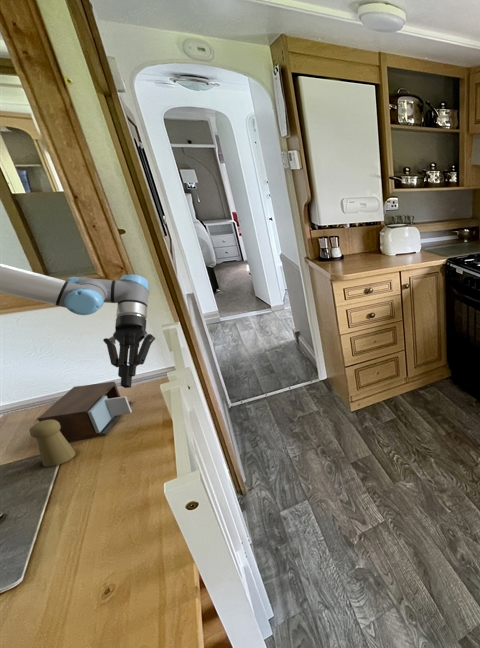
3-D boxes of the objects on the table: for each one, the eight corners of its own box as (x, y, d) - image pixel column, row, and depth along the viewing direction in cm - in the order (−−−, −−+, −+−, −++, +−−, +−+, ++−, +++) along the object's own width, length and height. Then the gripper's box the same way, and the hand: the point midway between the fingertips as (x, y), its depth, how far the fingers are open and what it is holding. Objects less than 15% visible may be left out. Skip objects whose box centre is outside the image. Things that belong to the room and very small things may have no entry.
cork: (36, 464, 95) (17, 428, 91) (64, 449, 101) (48, 414, 97) (53, 468, 94) (35, 432, 90) (81, 453, 100) (66, 418, 95)
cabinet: (49, 444, 102) (37, 418, 99) (84, 410, 118) (73, 386, 115) (105, 435, 107) (95, 409, 103) (131, 403, 122) (123, 380, 119)
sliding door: (96, 433, 106) (87, 412, 103) (111, 415, 114) (103, 395, 111) (121, 429, 108) (112, 408, 105) (133, 412, 115) (126, 392, 113)
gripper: (160, 321, 130) (156, 386, 121) (113, 325, 125) (106, 393, 117) (150, 311, 123) (145, 379, 115) (100, 315, 119) (91, 386, 110)
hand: (125, 386), depth 116 cm, fingers closed
